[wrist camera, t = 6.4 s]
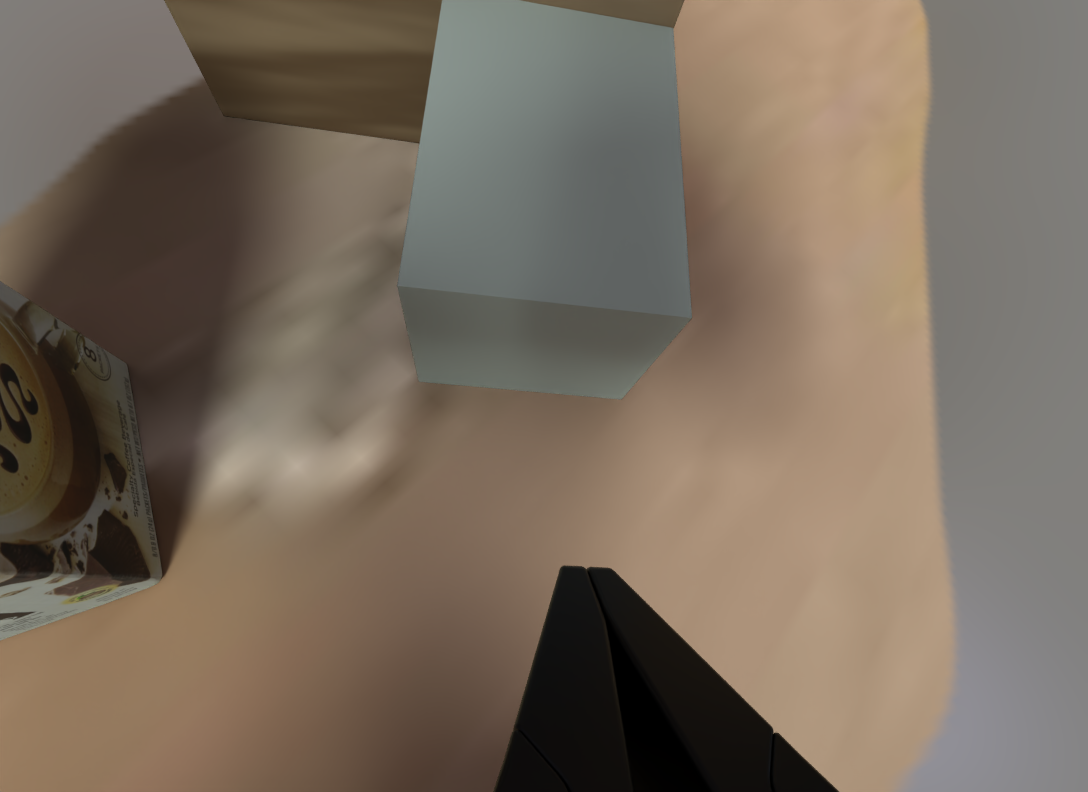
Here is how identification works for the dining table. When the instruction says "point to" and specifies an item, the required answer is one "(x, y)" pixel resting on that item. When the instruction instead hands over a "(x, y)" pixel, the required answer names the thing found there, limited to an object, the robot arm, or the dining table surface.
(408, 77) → the walnut board
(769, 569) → the dining table surface
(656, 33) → the grey block
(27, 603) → the coffee box
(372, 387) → the dining table surface
